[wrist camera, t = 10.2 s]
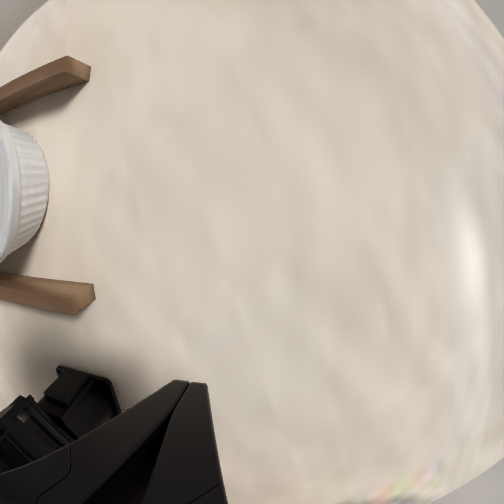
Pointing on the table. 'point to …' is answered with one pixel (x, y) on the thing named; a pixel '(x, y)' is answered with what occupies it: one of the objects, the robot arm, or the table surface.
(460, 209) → the table surface
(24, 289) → the walnut dock
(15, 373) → the table surface
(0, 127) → the ramekin
